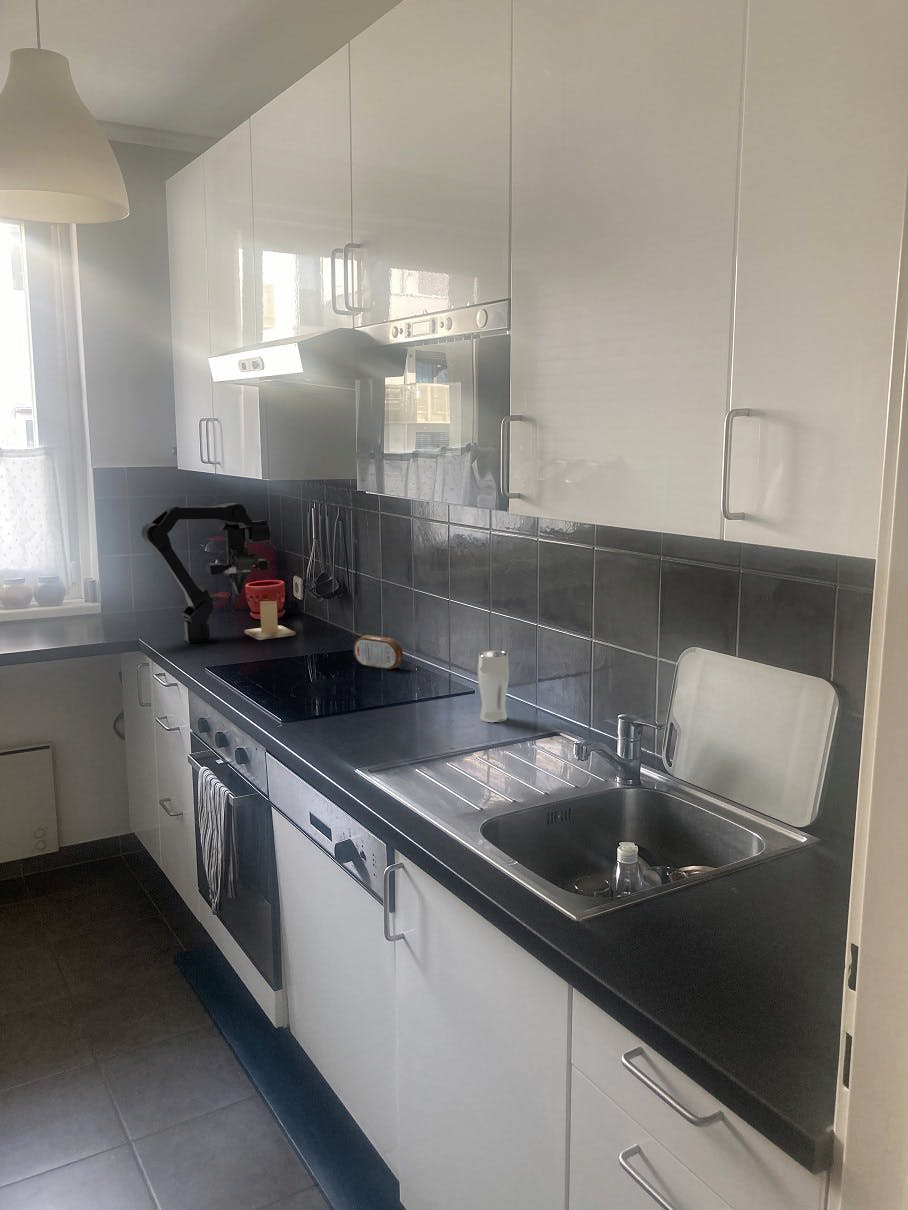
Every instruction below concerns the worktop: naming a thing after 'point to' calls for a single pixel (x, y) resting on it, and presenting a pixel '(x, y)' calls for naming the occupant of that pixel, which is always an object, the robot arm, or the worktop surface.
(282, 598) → the plant pot
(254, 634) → the birch board
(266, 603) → the ochre block
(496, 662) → the beer glass
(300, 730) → the worktop surface
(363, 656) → the tin
